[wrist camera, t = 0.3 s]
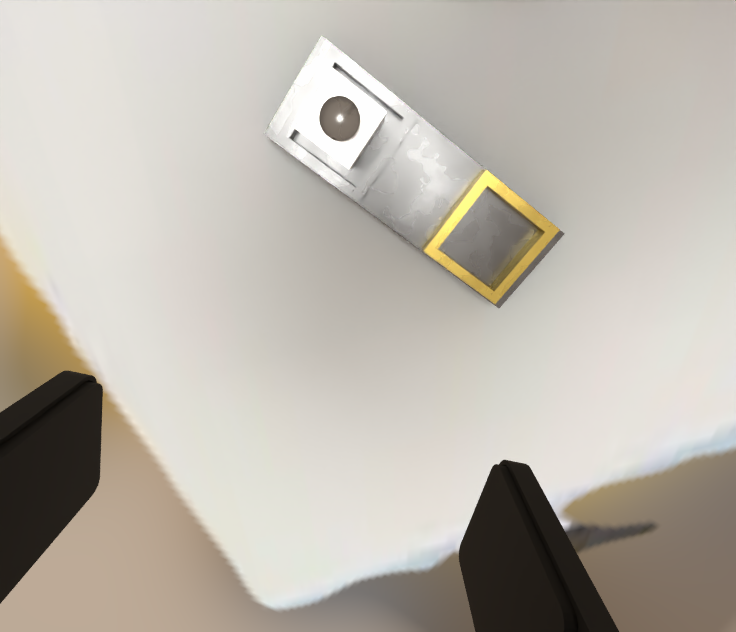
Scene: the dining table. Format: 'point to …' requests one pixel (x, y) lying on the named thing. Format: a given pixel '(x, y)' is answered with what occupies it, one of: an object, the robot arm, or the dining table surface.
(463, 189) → the grey flat elongated piece
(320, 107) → the knobbed metal block
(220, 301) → the dining table surface
